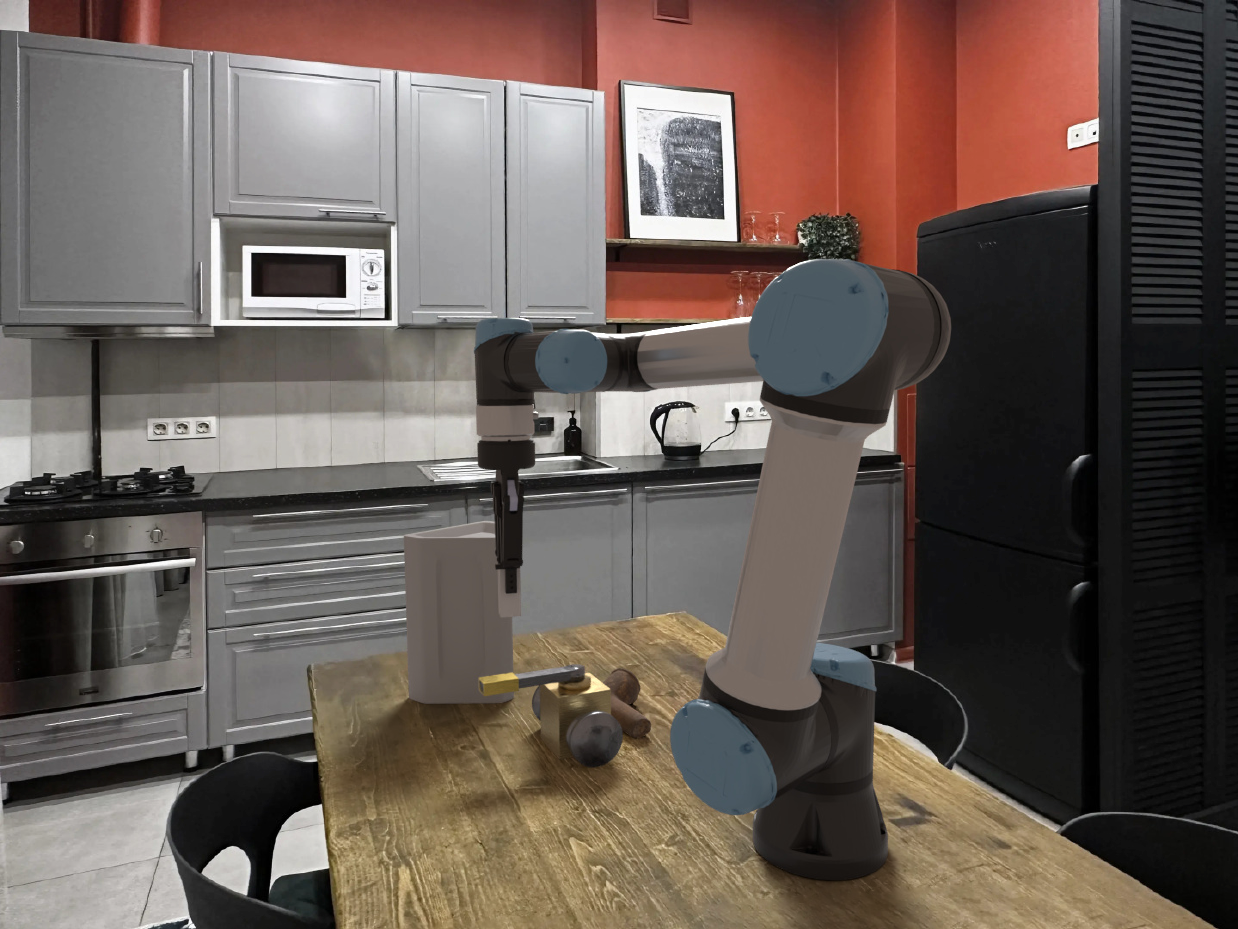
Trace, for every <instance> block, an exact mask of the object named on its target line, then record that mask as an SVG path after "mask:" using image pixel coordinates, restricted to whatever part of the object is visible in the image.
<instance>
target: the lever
mask: <svg viewBox="0 0 1238 929" xmlns="http://www.w3.org/2000/svg"><path fill="white" fill-rule="evenodd" d="M585 670H586V667H585V666H584V665H583V664H577V663H576V664H573V663H572V664H567V665H565V666H560V667H559V666H558V667H553V668H547V669H540V670H533V671H527V672H526V671H525V672H522V673H521V672H520V673H514V671H513V672H512V673H505V674H499V675H492V676H486V677H479V691H480V692H481V693H482V694H483V696H490V695H496V694H502V693H508V692H514V693H515V692H518V691H520V689H524V688H531V687H532V688H533V687H538V686H539V685H545V684H551V683H557V682H563V681H570V682H578V681H582V680H584V679H585V673H586V671H585Z"/></svg>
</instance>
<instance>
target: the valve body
mask: <svg viewBox="0 0 1238 929" xmlns="http://www.w3.org/2000/svg"><path fill="white" fill-rule="evenodd" d="M531 708H532V712H533V714H534V716H535V717H536V718H537V719H538V721H539V722H540V740H541V741H542V742H543V743H544V744H545V745H546V746H547V747H548V749H549V750H550V751H551V752H552V753H553V754H554V755H555V756H556V757H557V758H558V760H559V761H560V760H566V759H570V758H575V759H576V760H577V761H578V763H580V764H581V765H582V766H584V767H588V768H599V767H600V768H601V767H602V766H605V765H607V764H609V763H610V762H611V761H612V760H613V759H614V758H615V757H616V756H617V755H618V753H619V751H620V750H621V747H622V745H623V738H624V736H623V733H624V732H623V731H622V728H621V725H620V723H619V722H618V721H617V720H616V719H615V718H614V717H613V716H612V715H611V689H610V688H608V687H607V686H606V685H604V684H603V681H601V680H599V679H598V678H597V677H595V676H594V675H593V674H592V673H590V672H585V679H584V680H582V681H578V682H570V681H563V682H557V683H551V684H545V685H538V686H536V688H535V690H534V693H533V695H532V699H531Z"/></svg>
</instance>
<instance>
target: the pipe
mask: <svg viewBox="0 0 1238 929" xmlns="http://www.w3.org/2000/svg"><path fill="white" fill-rule="evenodd" d="M602 683H603V684H604V685H606V686H607V687H608V688H610V689H611V715H612V716H613V717H614V718H615V719H616V720H617V721H618V722H619V723H620V725H621V728H622V732H623V733H625V734H627V735H628V736H630V737H632V738H633V739H639V738H644V736H647V735H648V734H649V733H650V732H651V730H652V723H651V721H650V720H649V718H647V717H646V716H645V715H643V714H642V713H641V712H640V711H637V710H636V709H635V708H633V707H631V706H630V705H632V704H634V703H635V702H637V700H638V697H639V694H640V692H641V685H640V682H639V679H638V677H637V676H636V674H634V673H633V672H632V671H631V670H629V669H626V668H623V667H619V668H615V669H613V670H612V671H611V672H610V674H609V676H608V677H607V678H605V680H604V681H602Z"/></svg>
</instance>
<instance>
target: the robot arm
mask: <svg viewBox="0 0 1238 929" xmlns="http://www.w3.org/2000/svg"><path fill="white" fill-rule="evenodd" d="M951 319H952V318H951V316H950V312H949V309H948V305H947V303H946V302H945V300H944V298H943V296H942V295H941V293H940V292H939V290H937V288H936V287H935V286H934V285H933V284H931V283H930V282H928V281H927V280H926V279H924V278H923V277H921V276H919V275H917V274H915V273H912V272H908V271H905V270H901V269H890V268H887V267H881V266H876V265H873V264H870V263H864V262H859V261H855V260H851V259H850V258H846V259H840V258H839V259H838V258H837V259H836V258H816V259H809V260H805V261H802V262H799V263H797V264H795V265H792V266H790V267H788V268H787V269H786V270H784V271H783V272H781V273H780V274H779V275H777V276H776V277H775V278H773V280H771V281H770V283H769V284H768V285H767V287H765V288H764V290H763V291H762V293H761V294H760V296H759V298H758V300H757V302H756V303H755V306H754V308H753V311H752V313H751V316H748V317H739V318H732V319H726V320H718V321H712V322H704V323H697V324H691V325H684V326H677V327H676V326H675V327H670V328H660V329H655V330H648V331H642V332H634V333H633V332H632V333H606V332H605V333H604V332H603V333H602V332H591V331H589V330H586V329H577V328H573V329H570V328H560V329H557V330H550V331H538V332H534V328H533V327H534V326H533V322H532V321H531V320H529V319H526V318H519V317H498V318H494V317H492V318H491V317H490V318H483V319H481V320H479V321H478V322H477V323H476V325H475V335H474V336H475V339H474V340H475V341H474V348H473V354H474V370H475V372H474V373H475V394H476V395H475V397H476V405H475V420H476V421H475V423H476V425H475V426H476V435H477V436H479V437H481V438H480V440H479V441H478V442H477V447H476V448H477V452H476V453H477V466H478V468H479V469H482V470H486V471H495V481H491V482H490V493H491V495H492V511H493V516H494V521H493V522H495V544H496V550H495V554H496V557H497V561H498V564H495V569H496V570H498V607H499V614H500V617H501V618H502V617H512V618H513V617H521V616H522V593H521V590H522V589H521V582H522V581H521V567H523V564H524V560H523V536H524V535H523V534H524V532H523V528H524V527H523V526H524V521H523V519H524V518H523V516H524V515H523V514H524V502H525V497H524V495H525V484H524V482H522V481H521V480H520V477H519V476H520V475H519V471H520V470H528V469H532V468H534V467H535V465H536V442H535V441H534V439H532V438H531V436H533V435H534V434H535V421H534V420H539V418H540V416H539V412H537V411H534V410H535V398H534V397H535V393H543V394H545V393H546V394H547V393H548V394H550V393H552V394H555V393H556V394H562V395H568V394H570V395H572V394H581V393H600V392H601V393H606V392H631V393H632V392H633V393H646V392H651V391H657V390H661V389H674V388H676V389H677V388H689V387H701V386H705V387H706V386H715V385H717V386H718V385H730V384H732V385H733V384H745V383H757V382H758V383H759V382H762V385H761V390H760V396H759V402H760V403H761V405H762V406H763V407H764V410H765V411H766V413H767V414H768V415H769V417H770V420H771V423H770V427H769V433H768V437H767V438H768V439H767V442H766V448H765V452H764V456H763V462H762V466H761V472H760V477H759V481H758V485H757V490H756V497H755V501H754V506H753V511H752V515H751V520H750V525H749V530H748V536H747V539H746V544H745V549H744V553H743V559H742V564H741V569H740V573H739V578H738V579H739V580H738V584H737V588H736V593H735V598H734V603H733V608H732V613H731V617H730V622H729V625H728V626H729V627H728V632H727V637H726V641H725V647H723V648H721V649H719V650H717V651H715V652H713V653H711V655H710V656H709V657H708V658H707V661H706V663H705V667H704V671H703V672H704V673H703V678H702V683H701V687H700V691H699V696H698V698H697V699H696V698H695V699H692V700H690V701H688V702H686V703H684V704H683V706H682V707H681V708H680V709H678V711H677V712H676V714H675V715H674V717H673V720H672V722H671V725H670V731H669V732H670V734H669V737H670V738H669V739H670V748H671V749H670V750H671V753H672V757H673V760H674V762H675V765H676V768H678V770H679V771H680V773H681V775H682V779H683V780H684V782H685V784H686V785H687V787H688V788H689V789H690V790H691V792H692V793H693V794H694V795H695V796H696V797H697V798H698V799H699V800H700V801H702V802H703V803H704V804H705V805H706V806H708V807H709V808H711V809H713V810H715V811H717V812H719V813H722V814H724V815H729V816H744V815H746V814H750V813H752V812H754V811H755V812H754V815H753V819H752V843H753V846H754V848H755V849H756V851H757V853H759V855H761V857H762V858H763V859H765V860H766V861H767V862H768V863H770V864H771V865H773V866H776V867H777V868H779V869H781V870H783V871H785V872H788V873H791V874H794V875H797V876H800V877H804V878H805V877H806V878H809V879H816V880H826V881H846V880H852V879H857V878H861V877H865V876H868V875H870V874H873V873H874V872H876V871H878V870H879V869H880V868H882V867H883V865H884V864H885V862H886V861H887V858H888V854H889V851H888V850H889V834H888V833H889V832H888V830H887V825H886V823H885V819H884V816H883V813H882V810H881V806H880V803H879V799H878V797H877V794H876V790H875V787H874V754H875V752H874V750H875V747H874V746H875V741H874V740H875V717H876V716H875V714H876V713H875V710H876V692H877V687H876V683H875V682H876V681H875V667H874V663H873V662H872V660H871V659H870V658H869V657H868V656H867V655H865V654H863V653H861V652H859V651H858V650H857V651H856V650H854V649H852V648H848V647H844V646H840V645H835V644H829V643H828V644H827V643H822V642H818V637H819V635H820V629H821V626H822V622H823V621H822V620H823V617H824V613H825V609H826V605H827V600H828V596H829V592H830V589H831V588H830V587H831V584H832V583H831V582H832V580H833V576H834V570H835V566H836V563H837V558H838V553H839V550H840V547H841V546H840V545H841V543H842V542H841V541H842V539H843V538H842V537H843V532H844V529H845V525H846V522H847V521H846V520H847V516H848V513H849V508H850V504H851V499H852V495H853V492H854V491H853V490H854V487H855V482H856V479H857V475H858V470H859V465H860V461H861V457H862V453H863V449H864V444H865V440H866V439H867V438H868V437H869V436H871V435H872V434H874V433H876V432H878V431H879V430H880V429H882V428H884V427H885V426H886V424H887V423H888V418H889V414H890V410H891V407H892V403H893V398H894V394H895V391H898V390H903V389H907V388H909V387H911V386H914V385H916V384H918V383H920V382H921V381H923V380H924V379H926V378H928V377H929V376H930V374H932V373H933V372H934V371H935V370H936V369H937V367H938V366H939V364H940V363H941V362H942V360H943V359H944V357H945V355H946V353H947V350H948V348H949V345H950V342H951V332H952V322H951V321H952V320H951Z"/></svg>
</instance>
